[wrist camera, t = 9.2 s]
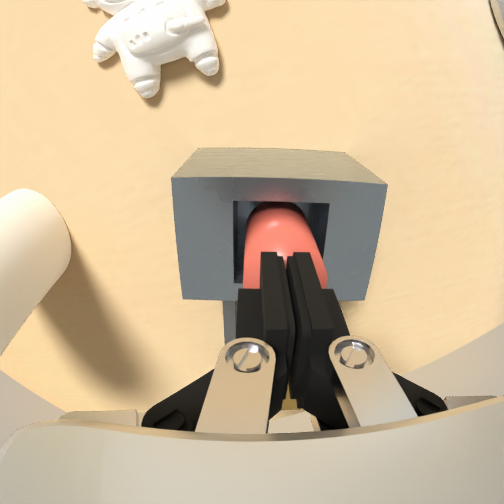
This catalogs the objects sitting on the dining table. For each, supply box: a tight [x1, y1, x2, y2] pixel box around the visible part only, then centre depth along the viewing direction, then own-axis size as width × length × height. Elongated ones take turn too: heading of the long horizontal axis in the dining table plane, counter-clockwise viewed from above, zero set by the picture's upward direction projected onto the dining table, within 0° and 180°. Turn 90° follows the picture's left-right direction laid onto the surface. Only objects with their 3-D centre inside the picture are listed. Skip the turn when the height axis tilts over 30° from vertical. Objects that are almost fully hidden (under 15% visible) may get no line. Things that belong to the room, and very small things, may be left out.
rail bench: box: [171, 148, 388, 345], centre depth 20 cm, size 9×20×7 cm, turn 179°
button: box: [243, 201, 328, 289], centre depth 13 cm, size 3×3×5 cm
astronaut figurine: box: [83, 0, 226, 98], centre depth 13 cm, size 9×12×3 cm
